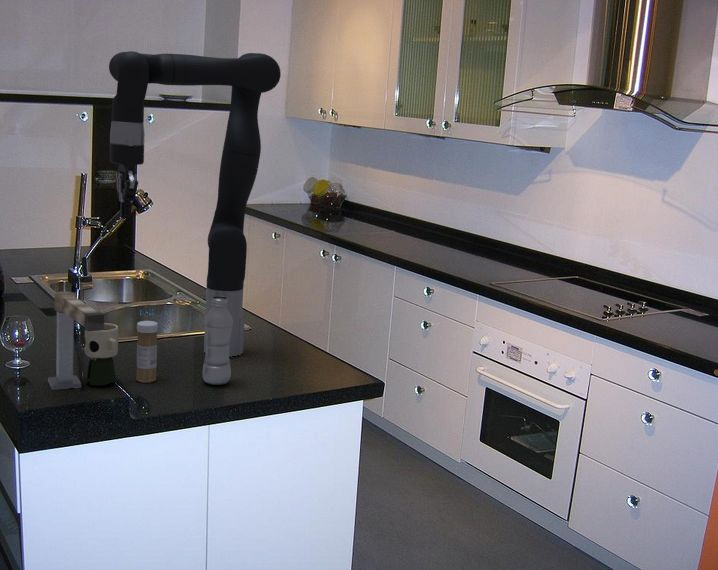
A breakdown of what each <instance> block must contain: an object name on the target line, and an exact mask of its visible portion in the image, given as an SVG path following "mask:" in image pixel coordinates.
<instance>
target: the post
mask: <svg viewBox="0 0 718 570" xmlns="http://www.w3.org/2000/svg"><path fill="white" fill-rule="evenodd" d="M74 321H75V320H74V319H72V318H71V317H70V316H68V315H67V314H65V313H64V312H58V311H56V359H55V360H56V363H55V365H56V376H50V377H47V382H48V384H49V387H50V389H51V390H52V391H59V390H60V389H61V390H70V389H69V388H74V389H82V382H81V380H80V379H79V377H78V375H77V374H76V375H75V374H74V328H75V327H74V326H75V325H74V324H75V323H74Z"/></svg>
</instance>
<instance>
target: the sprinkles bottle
mask: <svg viewBox="0 0 718 570" xmlns="http://www.w3.org/2000/svg"><path fill="white" fill-rule="evenodd" d="M136 331H137V333H136V334H137V344H136V377H135V379H136V381H138V382H139V383H149V384H150V383H153V382H156V380H157V362H158V331H159V323H158V322H157V321H154V320H141V321H138V322H137V323H136Z"/></svg>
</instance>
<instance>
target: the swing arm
mask: <svg viewBox="0 0 718 570" xmlns="http://www.w3.org/2000/svg"><path fill="white" fill-rule="evenodd" d="M53 298H54V307H53V308H54V309H53V311H55V312H57V311H58V312H64V313H65V314H67V315H68V316H70V317H71V318H72V319H74V321H75V322H77V323H78V324H79V325H80V326H83V327H84V331H85V330H87V331H99V330H104V323H105V314H104V313H103V312H101V311H97V310H96V309H94V308H92V307H91V306H89V305H88V304H86V303H85V302H83V301H82V300H80V299H78V298H77V292H74V291H73V292H72V291H57V292H54V297H53Z"/></svg>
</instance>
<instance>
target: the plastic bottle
mask: <svg viewBox="0 0 718 570" xmlns="http://www.w3.org/2000/svg"><path fill="white" fill-rule="evenodd" d="M211 306H212V308H211V310H210V311H209V312H208V314H207V315H206V317H205V316H204V333H205V332H206V354H204V362H203V366H202V379H203V381H204V382H205V383H206V384H209V385H212V386H214V385H218V386H221V385H225V384H227V383H228V382H229V381H230V379H231V375H232V369H231V361H230V359H231V358H229V346H230V345H229V344H230V336H231V331H232V325H233V319H232V316H231V314H230V313H229V311H228V310H227V306H228V298H227V297H224V296H213V297H212V303H211Z"/></svg>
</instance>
